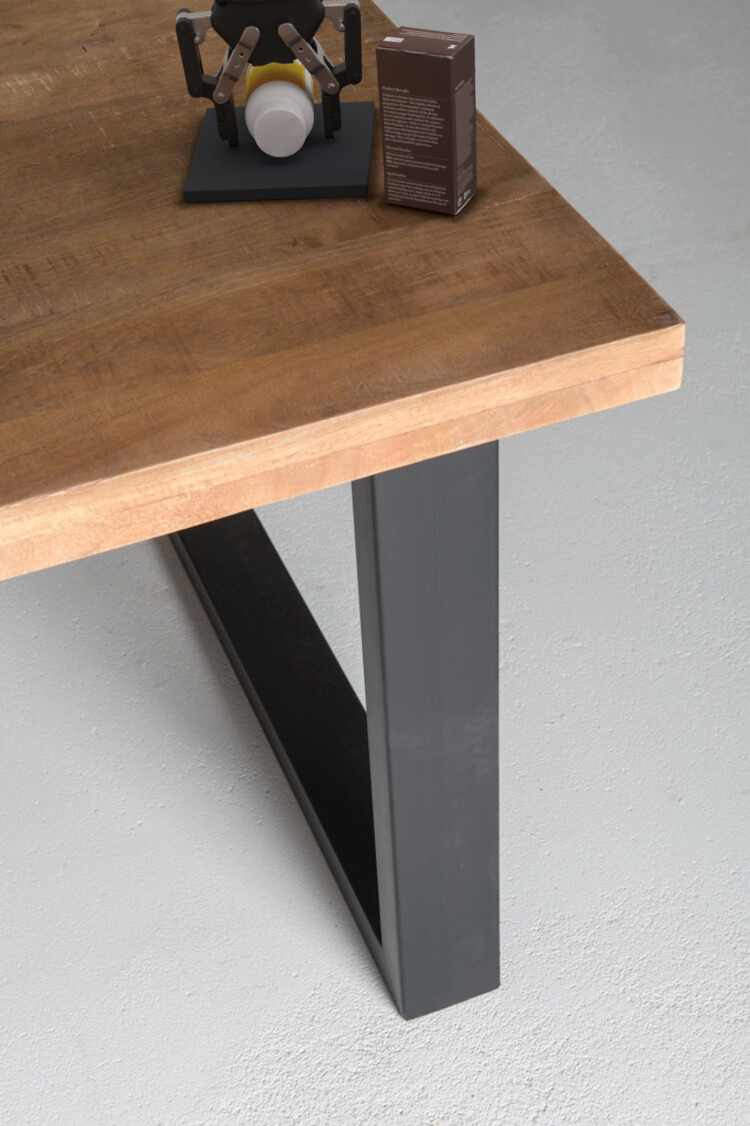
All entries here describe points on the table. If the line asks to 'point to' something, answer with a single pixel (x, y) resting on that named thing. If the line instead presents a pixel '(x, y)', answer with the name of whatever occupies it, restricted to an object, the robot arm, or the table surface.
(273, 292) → the table surface
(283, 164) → the charcoal mat
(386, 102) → the box
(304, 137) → the supplement bottle
